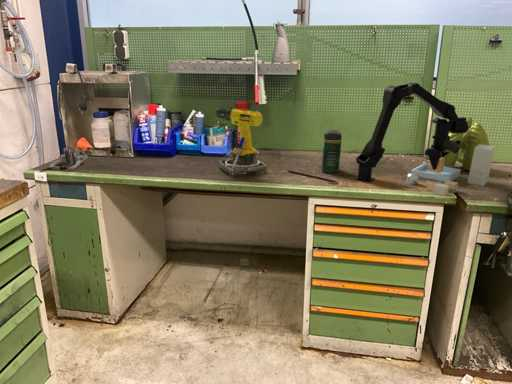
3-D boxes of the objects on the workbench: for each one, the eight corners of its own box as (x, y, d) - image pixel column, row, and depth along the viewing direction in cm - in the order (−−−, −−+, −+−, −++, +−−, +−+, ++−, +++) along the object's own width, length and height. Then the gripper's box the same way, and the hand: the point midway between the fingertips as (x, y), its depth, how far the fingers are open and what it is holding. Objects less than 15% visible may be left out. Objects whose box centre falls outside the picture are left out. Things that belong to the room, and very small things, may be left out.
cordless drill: (251, 162, 204) (250, 104, 195) (268, 171, 188) (269, 109, 179) (215, 166, 197) (213, 107, 188) (230, 177, 180) (229, 112, 172)
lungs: (479, 166, 204) (489, 116, 196) (491, 174, 189) (501, 121, 181) (425, 163, 208) (432, 114, 200) (432, 171, 193) (440, 119, 186)
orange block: (439, 173, 181) (441, 159, 180) (429, 171, 184) (431, 157, 182) (443, 171, 185) (445, 157, 183) (432, 169, 187) (434, 156, 186)
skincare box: (472, 179, 181) (478, 143, 177) (489, 182, 177) (496, 146, 173) (467, 183, 175) (473, 146, 170) (484, 186, 171) (491, 149, 166)
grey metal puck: (415, 185, 171) (416, 176, 170) (404, 183, 174) (405, 174, 173) (419, 183, 175) (420, 174, 173) (408, 181, 177) (410, 172, 176)
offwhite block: (444, 196, 159) (445, 187, 158) (433, 194, 162) (434, 185, 160) (447, 194, 162) (449, 185, 161) (437, 191, 164) (438, 183, 163)
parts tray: (448, 183, 175) (449, 176, 174) (410, 176, 184) (411, 169, 183) (459, 176, 186) (460, 169, 185) (423, 169, 196) (424, 163, 195)
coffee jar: (338, 174, 186) (342, 132, 181) (320, 173, 188) (323, 131, 182) (339, 168, 195) (342, 129, 190) (322, 167, 197) (324, 128, 191)
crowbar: (341, 181, 174) (334, 183, 170) (340, 183, 174) (334, 186, 171) (287, 168, 191) (280, 170, 188) (287, 171, 192) (280, 173, 188)
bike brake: (64, 159, 202) (40, 177, 185) (61, 146, 199) (36, 162, 182) (91, 161, 201) (69, 178, 183) (88, 147, 198) (66, 164, 180)
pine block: (453, 193, 162) (454, 184, 161) (442, 191, 165) (444, 182, 164) (456, 191, 165) (458, 182, 164) (446, 189, 168) (447, 180, 167)
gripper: (454, 139, 168) (448, 176, 172) (467, 133, 181) (461, 168, 186) (426, 135, 174) (421, 171, 179) (441, 130, 188) (436, 163, 193)
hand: (436, 168), depth 184 cm, fingers closed on orange block, 4 cm apart
